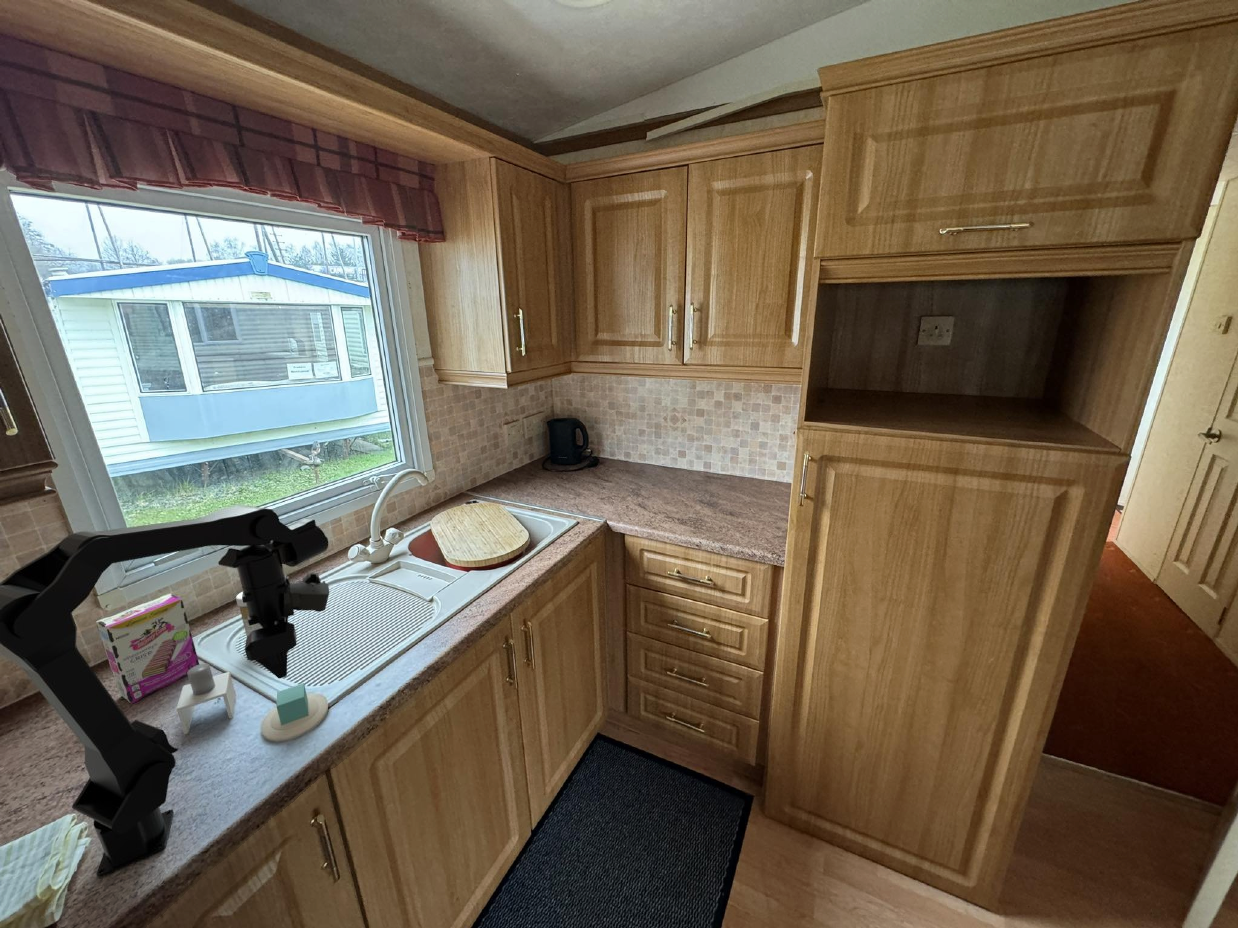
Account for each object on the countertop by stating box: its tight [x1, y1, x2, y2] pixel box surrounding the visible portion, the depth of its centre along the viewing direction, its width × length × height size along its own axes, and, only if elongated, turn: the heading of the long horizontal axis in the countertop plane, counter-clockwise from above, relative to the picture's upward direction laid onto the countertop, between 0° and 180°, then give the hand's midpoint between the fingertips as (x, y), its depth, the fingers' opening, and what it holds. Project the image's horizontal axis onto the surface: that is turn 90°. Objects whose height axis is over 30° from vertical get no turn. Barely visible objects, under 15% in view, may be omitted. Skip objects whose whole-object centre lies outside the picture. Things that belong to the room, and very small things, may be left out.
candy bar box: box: [95, 593, 201, 704], centre depth 93 cm, size 11×5×16 cm, turn 154°
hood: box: [176, 663, 237, 735], centre depth 86 cm, size 7×7×10 cm
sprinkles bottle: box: [235, 591, 263, 638], centre depth 103 cm, size 5×5×14 cm
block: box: [275, 683, 309, 725], centre depth 85 cm, size 4×4×4 cm
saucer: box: [260, 692, 329, 743], centre depth 86 cm, size 10×10×1 cm
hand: (283, 661), depth 83 cm, fingers open, 9 cm apart
